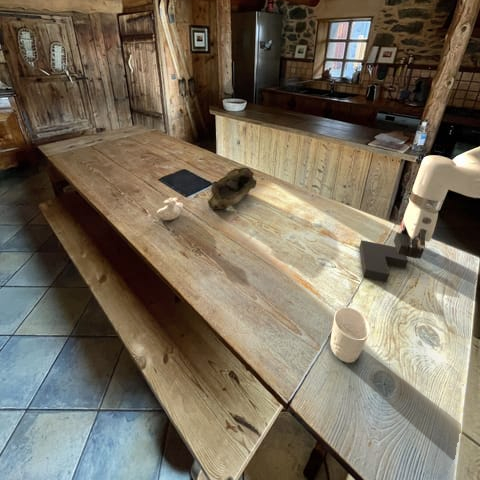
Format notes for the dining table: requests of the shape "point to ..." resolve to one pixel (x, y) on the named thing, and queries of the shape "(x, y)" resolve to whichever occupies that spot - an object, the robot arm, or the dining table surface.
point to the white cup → (349, 334)
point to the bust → (170, 209)
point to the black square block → (404, 243)
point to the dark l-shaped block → (379, 260)
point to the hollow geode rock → (231, 188)
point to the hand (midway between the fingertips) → (407, 248)
